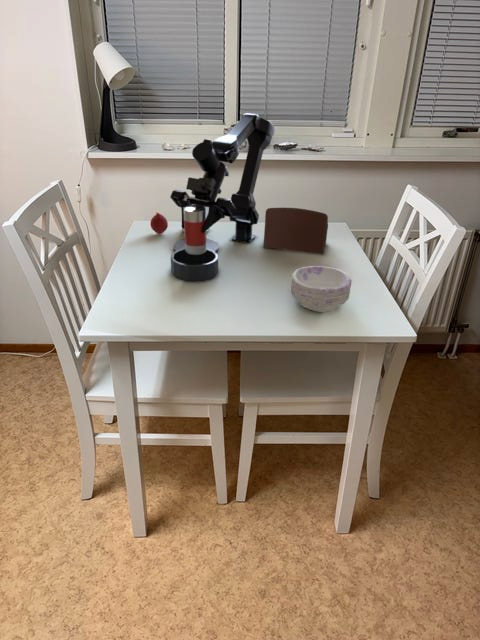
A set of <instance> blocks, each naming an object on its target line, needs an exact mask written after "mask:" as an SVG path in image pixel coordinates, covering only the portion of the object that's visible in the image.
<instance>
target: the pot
mask: <svg viewBox="0 0 480 640" xmlns="http://www.w3.org/2000/svg"><path fill="white" fill-rule="evenodd" d="M170 272H171V275H172V277H173V278H175V279H177V280H179V281H182V282H187V283H201V282H207V281H210V280H212V279H214V278H216V277H217V275H218V274H219V254H218V253H217V251H216V252H215V251H212V250H210V249H206V252H205V253H203V254H199V255H192V254H188V253H186V252H185V248H183V249H180V250H177V251H175V250H174V251H173V252H172V253H171V254H170Z"/></svg>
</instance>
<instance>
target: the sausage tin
mask: <svg viewBox="0 0 480 640" xmlns="http://www.w3.org/2000/svg"><path fill="white" fill-rule="evenodd" d="M205 220H206V208H205V207H204V206H201V205H189V206H186V207H184V232H183V235H184V239H185V252H186V253H188V254H192V255H199V254H203V253H205V252H206V239H207V232H205V233H202V232H201V231H202V227H203V225H204V222H205Z"/></svg>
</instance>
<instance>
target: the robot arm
mask: <svg viewBox="0 0 480 640" xmlns="http://www.w3.org/2000/svg"><path fill="white" fill-rule="evenodd" d="M274 134H275V126H274V124H273V123H272V121H271V120H267V119H265V118H263V117H261V116H260V115H259V114H256V113H247V112H246V113H243V114H242V116H241V118H240V120H239V121H238V122H237V123H236V124H235V125H234V127H232V128H231V130H229V132H228V133H226V135H222V136H219V137H216V138H215V139H214V140H213V141H212V140H211V139H209V138H204V139H203V141H202V142H200V143H199V142H198V144H196V145H195V146H194V147H193V148H192V152H191V155H192V157H193V159H194V160H195V162H196V163H197V165H198V166H199V168H200V169H201V171H203V175H202V177H199V178H196V177H190V176H189V177H188V178H187V182H186V190H189V191H191V192H190V193H191V195H192V196H190V195H189V194H188V193H187V191H185V190H180V189H174V190H172V192H171V194H170V196H169V198H170V199H171V200H172V201H173V203H174V204H175V205H176V206H177V207H178V208H180V209H181V208H182V212H181V229H182V228H183V229H184V207H186V206H189V205H192V204H193V205H201V206H204V207H209V212H208V215H207V217H206V220H205V222H204V225H203V227H202V231H201V232H202V233H205V232H206V231H207V230H208V229H209V230H210V228H211V227H213V225H215V224H216V223H218V222H219V221H221V220H222V219H225V217H228V219H229V221H230V222H234V223H235V228H234V229H235V230H234V231H235V233H234V236H233V237H232V238H231V241H236V242H240V243H251V242H252V241H253V240H254V239H255V238H256V235H255V234H253V225H258V223H259V218H260V214H259V213H258V210H257V209H256V204H257V203H256V200H255V196H254V192H255V188H256V184H257V179H258V175H259V171H260V166H261V162H262V158H263V154H264V151H265V150H266V149H267V148H268V146H269V145H271V142H272V139H273V136H274ZM246 140H247V143H248V149H247V154H246V158H245V163H244V165H243V170H242V175H241V180H240V184H239V188H238V190H237V191H236V193H232V194H231V196H230V198H227V197H226V198H225V197H220V196H219V197H218V195H221V194H222V189H221V187H222V185H223V182H224V180H225V177H229V176H230V174H229V170H228V166H226V165H225V163H226V164H233V163H235V161H236V160H237V158H238V157H239V154H240V151H239V148H240V147H241V146H242V145H243V144H244V142H245V141H246ZM217 197H218V198H217ZM209 230H208V231H209ZM208 231H207V232H208ZM207 232H206V233H207Z"/></svg>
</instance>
